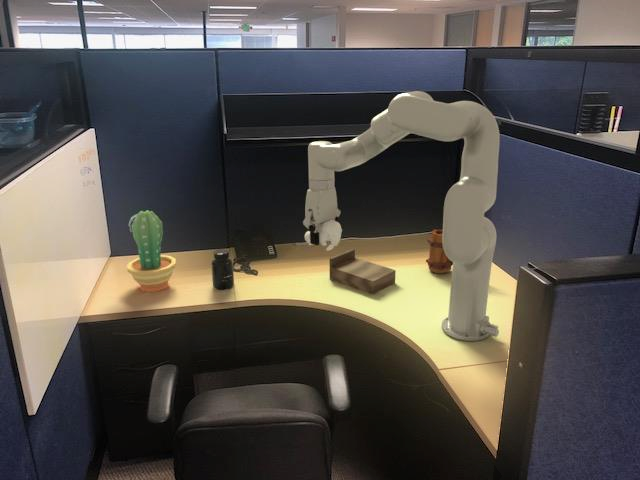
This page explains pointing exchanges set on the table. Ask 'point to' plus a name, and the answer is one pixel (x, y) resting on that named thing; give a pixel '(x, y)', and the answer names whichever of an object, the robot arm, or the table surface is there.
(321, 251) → the table surface
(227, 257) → the supplement bottle
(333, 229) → the white animal figurine
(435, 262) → the mug
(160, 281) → the potted cactus
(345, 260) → the display ledge
